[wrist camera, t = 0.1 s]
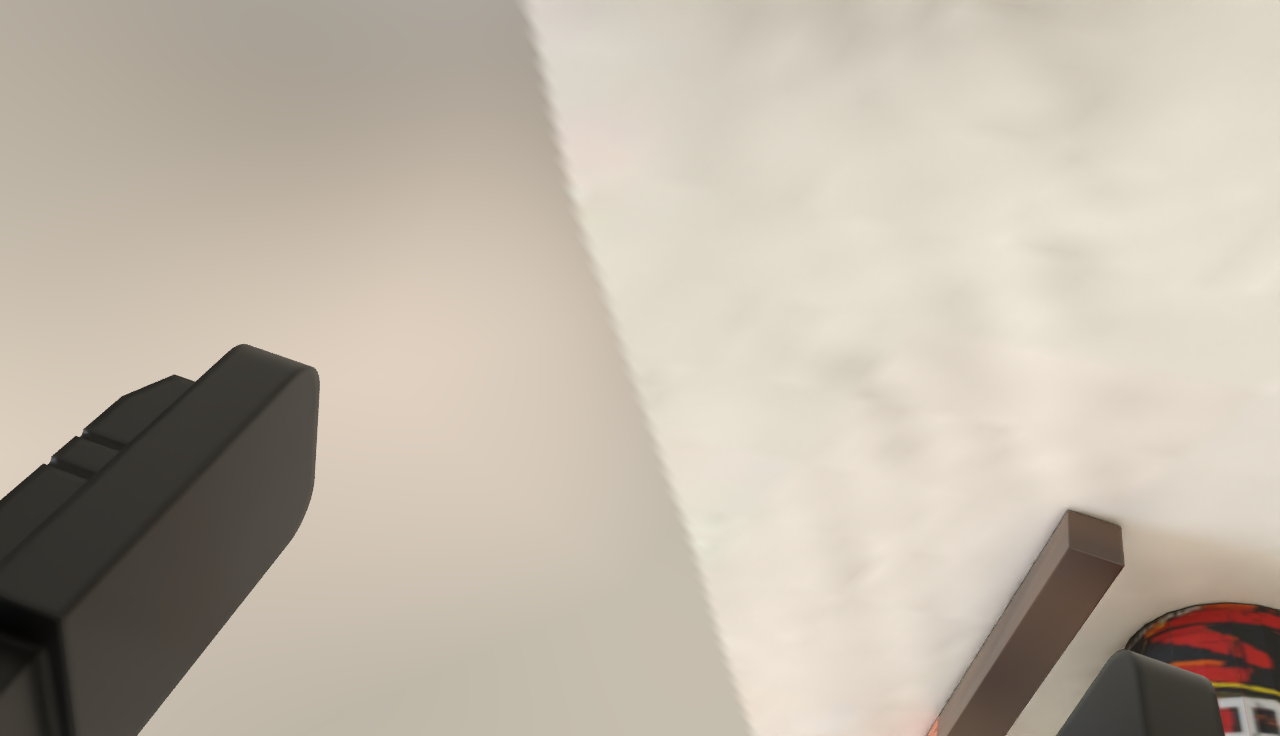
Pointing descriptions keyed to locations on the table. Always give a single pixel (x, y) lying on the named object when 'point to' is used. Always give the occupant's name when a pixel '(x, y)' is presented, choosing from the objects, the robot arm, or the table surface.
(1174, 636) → the deodorant
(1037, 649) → the brown angled rods
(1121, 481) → the table surface
